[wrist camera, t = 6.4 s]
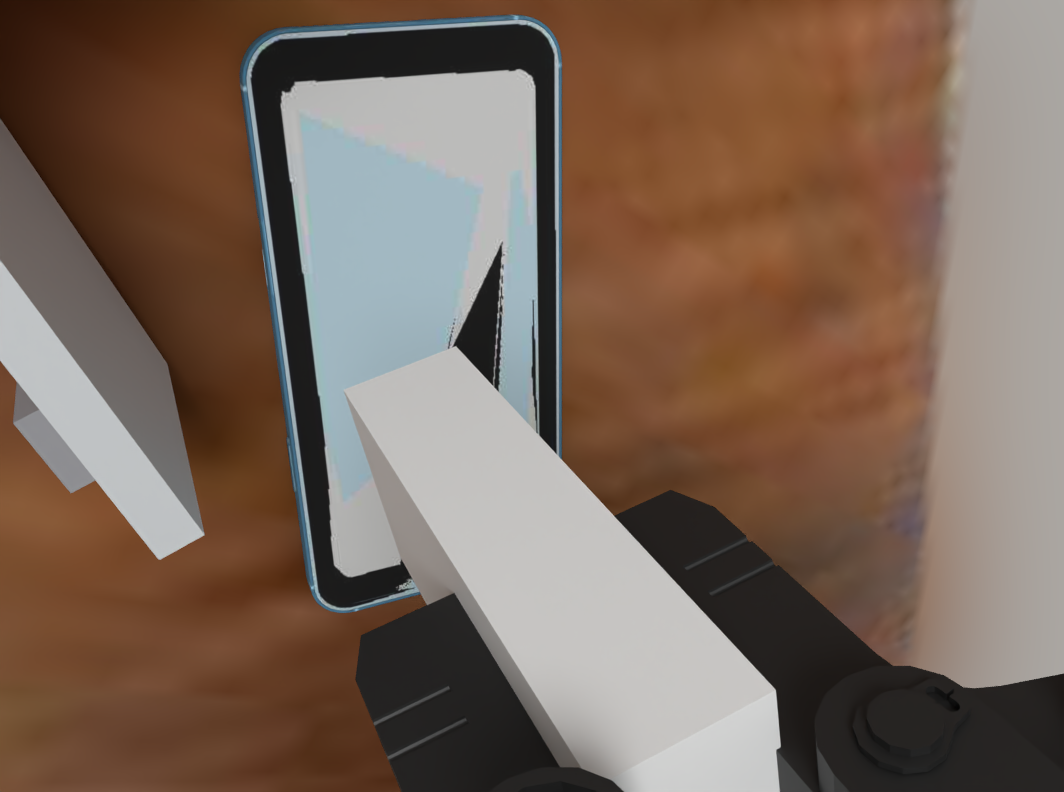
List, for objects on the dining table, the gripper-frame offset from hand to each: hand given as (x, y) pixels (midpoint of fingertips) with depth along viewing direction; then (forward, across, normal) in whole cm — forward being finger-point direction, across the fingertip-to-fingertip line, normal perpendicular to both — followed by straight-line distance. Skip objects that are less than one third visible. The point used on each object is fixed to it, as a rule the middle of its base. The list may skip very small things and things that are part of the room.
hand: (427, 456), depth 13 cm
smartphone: (+12, +3, -4) cm, 13 cm away
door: (+11, -5, +3) cm, 12 cm away
